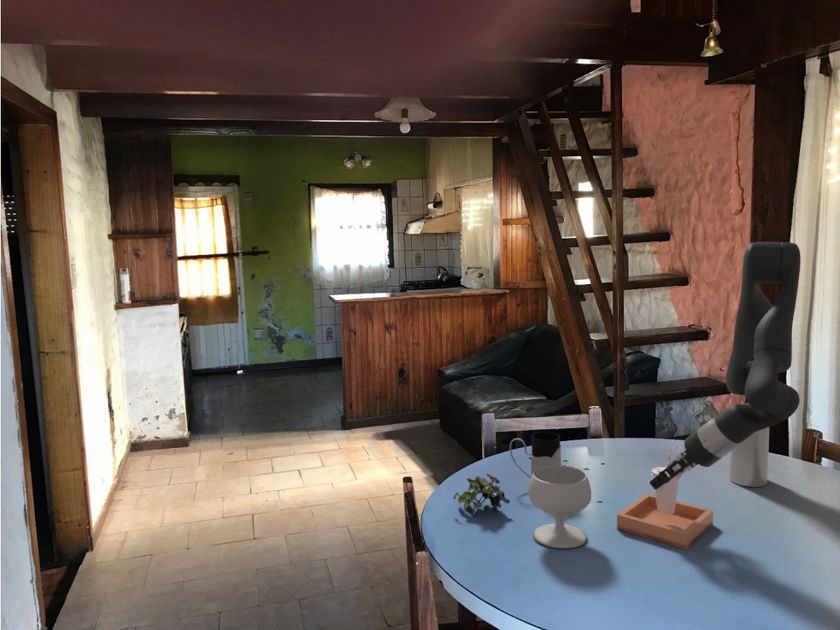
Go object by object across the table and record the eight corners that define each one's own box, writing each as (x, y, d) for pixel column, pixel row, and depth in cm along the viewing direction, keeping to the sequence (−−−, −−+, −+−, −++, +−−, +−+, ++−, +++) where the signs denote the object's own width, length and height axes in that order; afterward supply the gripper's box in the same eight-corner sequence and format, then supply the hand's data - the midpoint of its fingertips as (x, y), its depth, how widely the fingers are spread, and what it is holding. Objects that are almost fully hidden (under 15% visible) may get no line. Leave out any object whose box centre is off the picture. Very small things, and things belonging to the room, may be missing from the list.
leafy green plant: (493, 527, 166) (520, 495, 162) (468, 535, 158) (495, 501, 153) (467, 494, 172) (491, 462, 168) (441, 499, 164) (466, 466, 159)
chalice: (555, 558, 138) (554, 490, 136) (516, 532, 151) (515, 470, 149) (604, 542, 145) (605, 477, 143) (563, 519, 157) (563, 459, 155)
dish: (646, 506, 162) (646, 493, 162) (712, 524, 151) (713, 510, 151) (617, 529, 151) (617, 514, 150) (686, 549, 140) (686, 534, 140)
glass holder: (560, 497, 170) (560, 442, 168) (507, 492, 175) (506, 438, 173) (564, 485, 178) (564, 432, 176) (513, 480, 183) (512, 428, 181)
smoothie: (683, 517, 147) (683, 458, 145) (653, 516, 148) (653, 457, 147) (677, 506, 153) (678, 449, 151) (649, 505, 154) (649, 448, 153)
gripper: (711, 420, 148) (660, 460, 158) (687, 435, 138) (634, 476, 147) (735, 447, 145) (682, 486, 155) (712, 464, 135) (656, 505, 144)
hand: (659, 481), depth 151 cm, fingers closed on smoothie, 6 cm apart
